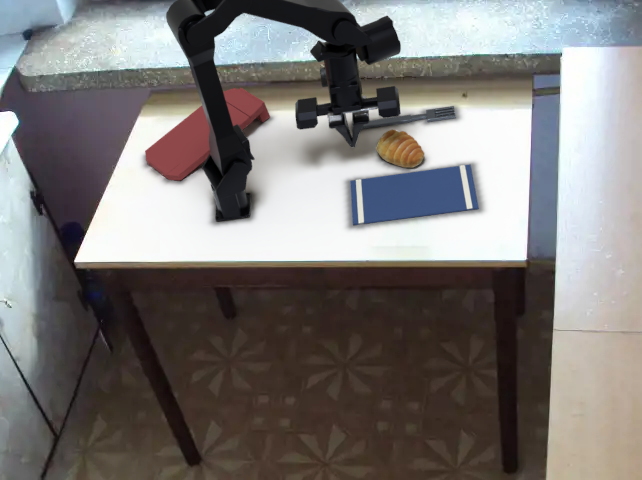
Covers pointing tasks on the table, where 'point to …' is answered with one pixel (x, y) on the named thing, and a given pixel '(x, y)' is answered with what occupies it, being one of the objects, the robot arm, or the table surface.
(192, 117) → the red angular block
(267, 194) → the table surface
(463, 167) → the napkin
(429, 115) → the fork
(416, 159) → the pastry
